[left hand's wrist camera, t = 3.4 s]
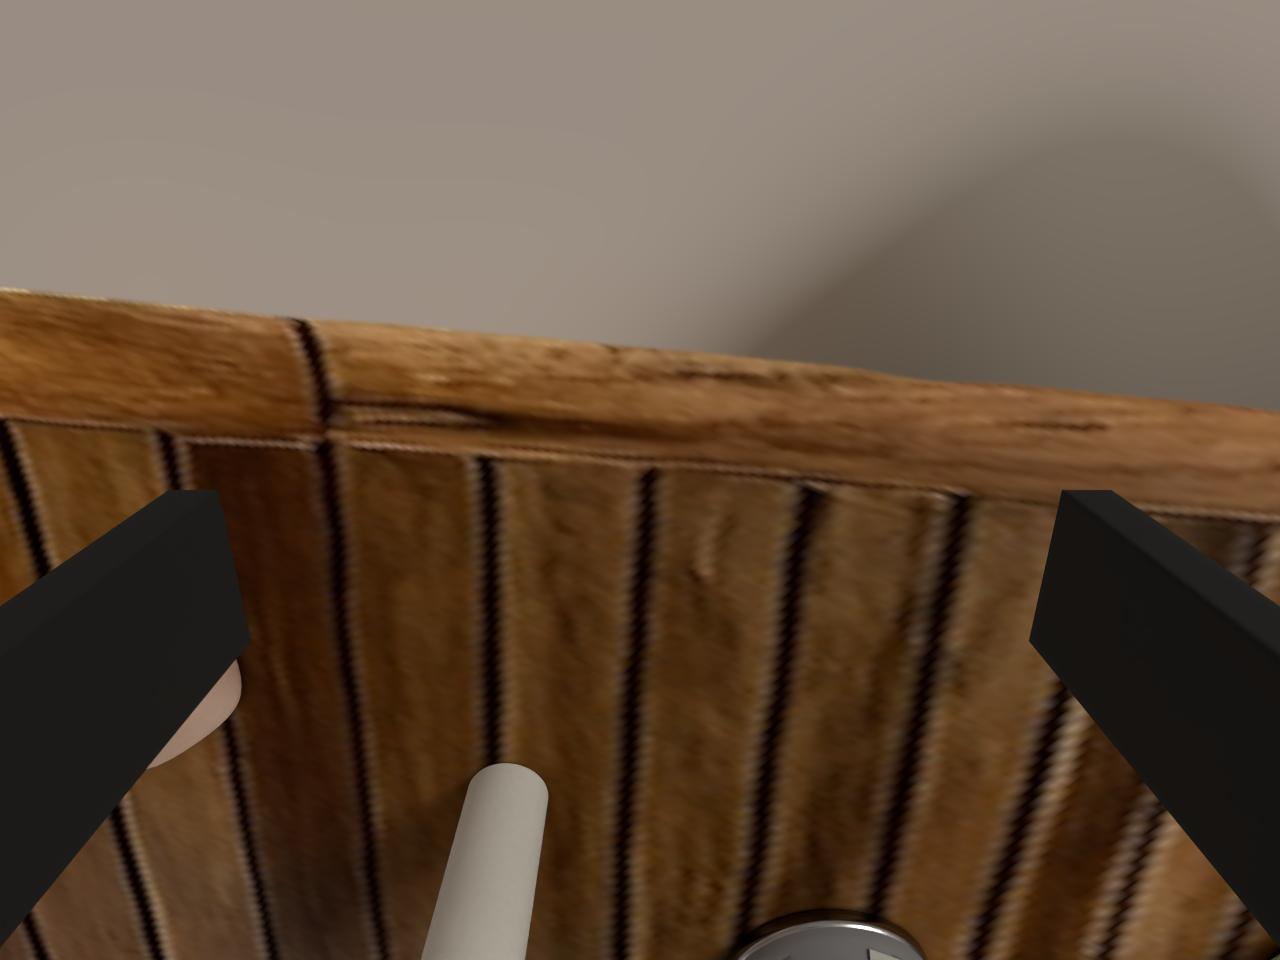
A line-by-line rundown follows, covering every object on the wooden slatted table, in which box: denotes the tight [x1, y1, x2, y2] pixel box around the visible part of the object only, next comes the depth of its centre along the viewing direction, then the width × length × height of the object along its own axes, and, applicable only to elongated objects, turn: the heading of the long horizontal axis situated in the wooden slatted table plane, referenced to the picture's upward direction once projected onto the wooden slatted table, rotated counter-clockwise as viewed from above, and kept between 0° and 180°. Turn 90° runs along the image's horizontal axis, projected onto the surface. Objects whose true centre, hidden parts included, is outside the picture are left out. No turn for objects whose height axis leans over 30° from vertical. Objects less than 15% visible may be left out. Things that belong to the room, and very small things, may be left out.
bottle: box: [421, 763, 548, 960], centre depth 41 cm, size 5×5×19 cm
